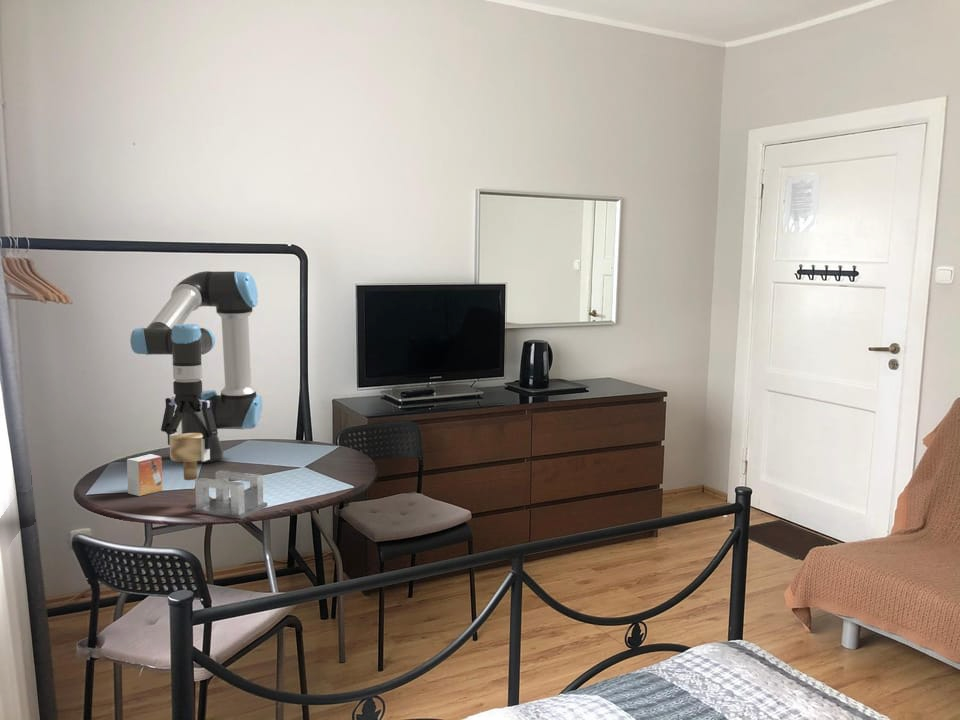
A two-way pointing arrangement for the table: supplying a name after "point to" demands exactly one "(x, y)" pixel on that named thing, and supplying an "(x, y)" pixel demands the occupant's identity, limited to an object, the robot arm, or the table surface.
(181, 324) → the robot arm
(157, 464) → the small box
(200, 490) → the fork bracket
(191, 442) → the mushroom peg
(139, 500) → the table surface
